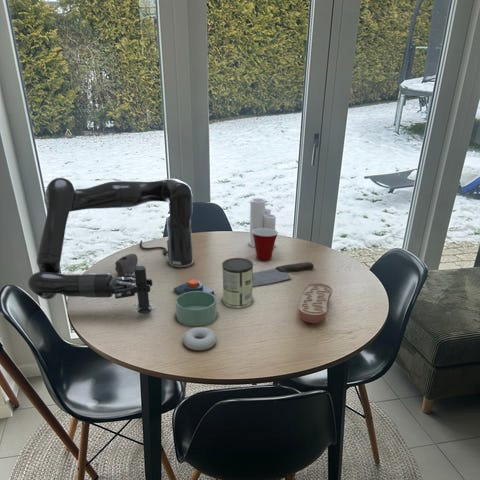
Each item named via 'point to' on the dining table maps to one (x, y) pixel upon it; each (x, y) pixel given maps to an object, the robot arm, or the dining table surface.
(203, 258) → the dining table surface
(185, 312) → the processor bowl
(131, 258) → the perforated stone tool
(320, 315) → the anatomical model
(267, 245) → the plastic cup
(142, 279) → the food processor blade
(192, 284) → the button
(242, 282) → the coffee can
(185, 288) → the control block
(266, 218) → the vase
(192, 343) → the donut
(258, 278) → the cleaver
